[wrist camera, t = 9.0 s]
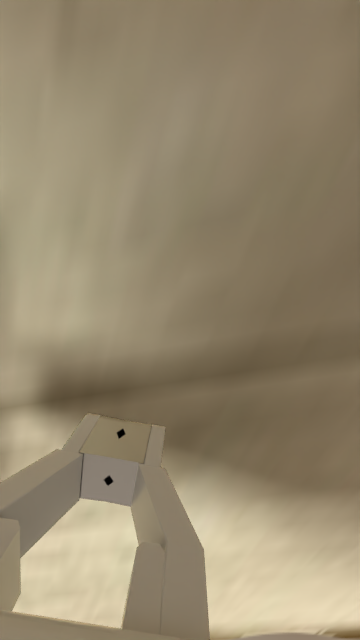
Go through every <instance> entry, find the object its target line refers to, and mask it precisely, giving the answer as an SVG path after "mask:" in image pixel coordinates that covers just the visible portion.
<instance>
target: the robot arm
mask: <svg viewBox="0 0 360 640" xmlns="http://www.w3.org/2000/svg"><path fill="white" fill-rule="evenodd" d="M151 427H152V428H151ZM164 436H165V426H159V425H152V424H146V423H140V422H134V421H128V420H122V419H118V418H113V417H108V416H103V415H97V414H92V413H88V414H86V415H85V416H84V418H83V419H82V421H81V422H80V423H79V425H78V426H77V428H76V429H75V431H74V432H73V434H72V435H71V437H70V438H69V439H68V441H67V442H66V444H65V445H64V447H63V448H62V450H59V449H56V450H55V451H53V452H51V453H50V454H48V455H46V456H44V457H43V458H41V459H39V460H38V461H36V462H34V463H33V464H31V465H29V466H28V467H26V468H24V469H22V470H21V471H19V472H17V473H16V474H14V475H12V476H11V477H9V478H7V479H6V480H4V481H2V482H0V640H210V634H209V619H208V604H207V589H206V573H205V558H204V549H203V547H202V545H201V543H200V541H199V539H198V536H197V534H196V532H195V530H194V528H193V526H192V524H191V522H190V520H189V518H188V515H187V513H186V511H185V509H184V507H183V505H182V503H181V501H180V499H179V497H178V495H177V492H176V490H175V488H174V486H173V484H172V482H171V480H170V478H169V476H168V474H167V471H166V469H165V468H162V467H161V460H162V452H163V444H164ZM79 498H83V499H91V500H98V501H106V502H110V503H115V504H120V505H125V506H130V507H131V511H132V516H133V521H134V525H135V530H136V534H137V539H138V543H139V546H138V547H137V550H136V555H135V560H134V565H133V570H132V574H131V579H130V584H129V589H128V594H127V599H126V604H125V608H124V614H123V619H122V625H121V628H115V627H108V626H102V625H95V624H89V623H83V622H76V621H70V620H64V619H57V618H51V617H44V616H38V615H32V614H25V613H19V612H13V611H12V610H13V608H14V606H15V603H16V601H17V599H18V597H19V595H20V593H21V577H20V558H21V557H22V556H23V555H24V554H25V553H26V552H27V551H28V550H29V549H30V548H31V547H32V546H33V545H34V544H35V543H36V542H37V541H38V540H39V539H40V538H41V537H42V536H43V535H44V534H45V533H46V532H47V531H48V530H49V529H50V528H51V527H52V526H53V525H54V524H55V523H56V522H57V521H58V520H59V519H60V518H61V517H63V516H64V515H65V514H66V513H67V512H68V511H69V510H70V509H71V508H72V507H73V506H74V505H75V504H76V503H77V502H78V501H79Z"/></svg>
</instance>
